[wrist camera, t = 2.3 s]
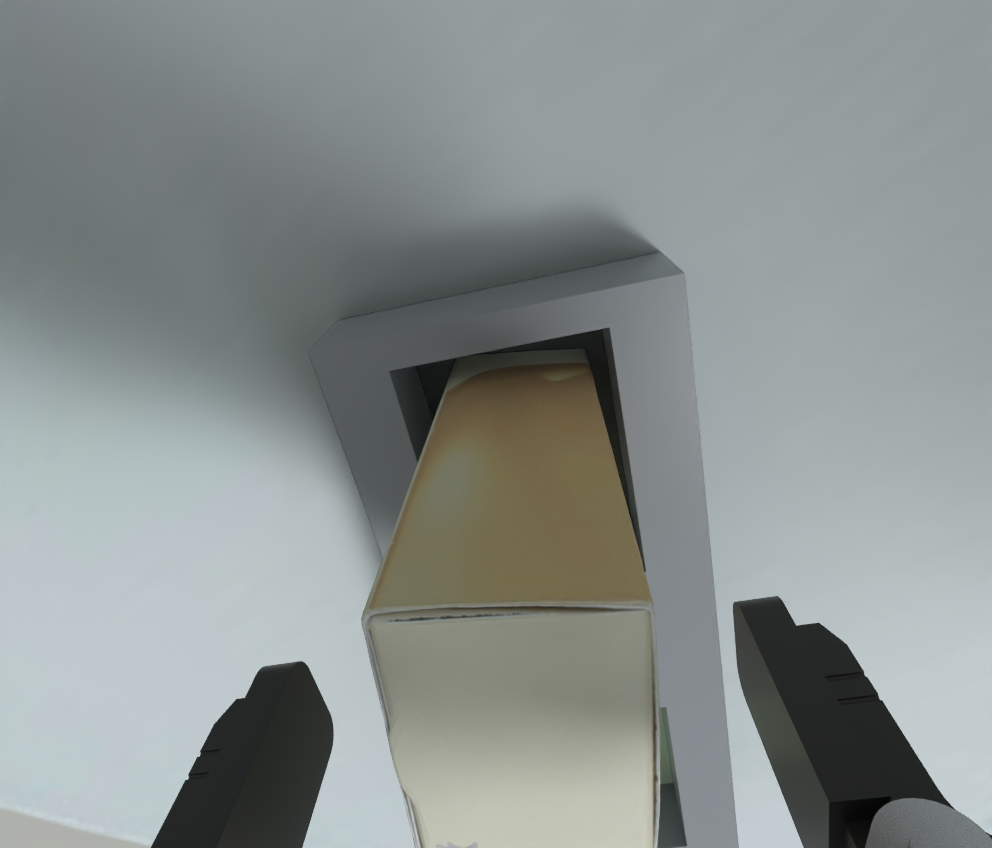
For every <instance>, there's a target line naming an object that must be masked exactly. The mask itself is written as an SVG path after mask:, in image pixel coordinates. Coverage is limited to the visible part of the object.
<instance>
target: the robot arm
mask: <svg viewBox="0 0 992 848" xmlns="http://www.w3.org/2000/svg"><path fill="white" fill-rule="evenodd" d="M733 616H734V629H735V643H736V656H737V667H738V673H739V678H740V682H741V686H742V690H743V693H744V696H745V699H746V702H747V705H748V707H749V710H750V712H751V715H752V718H753V720H754V723H755V725H756V728H757V730H758V733H759V735H760V738H761V740H762V743H763V745H764V748H765V750H766V753H767V756H768V758H769V761H770V763H771V766H772V768H773V771H774V773H775V776H776V778H777V781H778V783H779V786H780V789H781V791H782V794H783V796H784V799H785V801H786V804H787V806H788V809H789V811H790V814H791V816H792V819H793V822H794V824H795V827H796V829H797V832H798V834H799V837H800V839H801V842H802V844H803V847H804V848H992V835H990V834H988V833H986V832H985V831H984V830H983V829H982V828H981V827H980V826H978V825H977V824H976V823H974V822H973V821H972V820H971V819H969V818H968V817H966V816H965V815H963V814H961V813H960V812H958V811H956V810H955V809H954V808H953V807H952V806H951V805H950V804H949V802H948V801H947V800H946V799H945V798H944V797H943V795H942V794H941V792H940V791H939V790H938V788H937V787H936V785H935V784H934V782H933V780H932V779H931V777H930V776H929V774H928V772H927V771H926V769H925V768H924V766H923V765H922V763H921V761H920V760H919V758H918V757H917V755H916V753H915V752H914V750H913V749H912V747H911V746H910V744H909V742H908V741H907V739H906V738H905V736H904V734H903V733H902V731H901V730H900V728H899V727H898V725H897V723H896V722H895V720H894V719H893V717H892V715H891V714H890V712H889V711H888V709H887V708H886V706H885V704H884V703H883V701H882V700H880V699H879V697H878V693H877V692H876V690H875V689H874V687H873V685H872V684H871V682H870V681H869V679H868V678H867V677H865V675H864V671H863V670H862V668H861V666H860V665H859V663H858V662H857V660H856V659H855V657H854V655H853V654H852V652H851V651H850V649H849V647H848V646H847V644H845V643H844V642H843V641H842V640H840V639H839V638H838V637H836V636H835V635H834V634H833V633H831V632H830V631H829V630H827V629H826V628H825V627H824V626H822V625H821V624H820V623H814V624H806V625H799V626H796V625H795V623H794V621H793V619H792V617H791V616H790V614H789V612H788V610H787V608H786V607H785V605H784V603H783V601H782V600H781V599H780V598H779V597H778V596H774V597H767V598H760V599H753V600H746V601H738V602H734V604H733ZM332 746H333V722H332V718H331V715H330V712H329V710H328V708H327V706H326V704H325V702H324V700H323V697H322V695H321V693H320V691H319V689H318V687H317V685H316V683H315V680H314V678H313V676H312V674H311V672H310V670H309V668H308V666H307V665H306V664H305V663H304V662H302V661H300V662H293V663H285V664H278V665H271V666H265V667H262V668H261V669H260V670H259V671H258V673H257V675H256V676H255V678H254V681H253V683H252V685H251V687H250V689H249V691H248V693H247V695H246V697H245V698H242V699H236V700H235V702H234V703H233V704H232V705H231V706H230V707H229V708H228V709H227V710H226V712H225V713H224V714H223V715H222V716H221V717H220V718H219V719H218V721H217V722H216V723H215V724H214V726H213V728H212V730H211V732H210V734H209V735H208V737H207V739H206V741H205V743H204V745H203V747H202V749H201V751H200V752H201V755H200V757H197V759H196V761H195V763H194V765H193V767H192V769H191V771H190V772H189V779H188V780H185V782H184V784H183V786H182V788H181V790H180V792H179V794H178V796H177V798H176V800H175V802H174V804H173V806H172V808H171V809H170V811H169V813H168V815H167V817H166V819H165V821H164V823H163V825H162V827H161V829H160V831H159V833H158V835H157V837H156V839H155V841H154V843H153V845H152V847H151V848H302V846H303V843H304V840H305V836H306V833H307V830H308V827H309V823H310V820H311V817H312V813H313V810H314V807H315V803H316V800H317V797H318V794H319V790H320V787H321V784H322V780H323V777H324V774H325V771H326V767H327V764H328V761H329V757H330V754H331V750H332Z"/></svg>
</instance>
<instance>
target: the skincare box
mask: <svg viewBox="0 0 992 848" xmlns="http://www.w3.org/2000/svg"><path fill="white" fill-rule="evenodd" d="M361 620H362V627H363V631H364V635H365V639H366V644H367V648H368V653H369V657H370V662H371V666H372V671H373V675H374V679H375V683H376V687H377V691H378V696H379V700H380V704H381V708H382V712H383V716H384V720H385V726H386V732H387V736H388V741H389V746H390V750H391V755H392V760H393V764H394V768H395V771H396V774H397V777H398V780H399V783H400V786H401V789H402V793H403V798H404V803H405V807H406V811H407V816H408V819H409V823H410V827H411V831H412V835H413V840H414V844H415V847H416V848H657V842H658V830H659V815H660V708H659V681H658V667H657V664H658V657H657V643H656V625H655V609H654V604H653V600H652V597H651V593H650V589H649V586H648V582H647V579H646V575H645V571H644V568H643V564H642V560H641V556H640V552H639V548H638V545H637V541H636V537H635V534H634V530H633V526H632V522H631V518H630V515H629V511H628V507H627V504H626V500H625V497H624V493H623V489H622V485H621V482H620V478H619V474H618V470H617V467H616V463H615V459H614V455H613V451H612V448H611V444H610V441H609V437H608V433H607V429H606V426H605V422H604V418H603V414H602V410H601V407H600V403H599V400H598V396H597V392H596V388H595V383H594V379H593V375H592V372H591V368H590V364H589V360H588V356H587V352H586V351H585V350H584V349H581V348H578V349H558V350H539V351H522V352H507V353H495V354H482V355H471V356H463V357H459V358H457V359H456V360H455V363H454V365H453V368H452V371H451V373H450V376H449V379H448V382H447V385H446V387H445V390H444V393H443V396H442V399H441V401H440V404H439V407H438V409H437V412H436V415H435V417H434V420H433V423H432V426H431V429H430V432H429V434H428V437H427V440H426V442H425V445H424V448H423V450H422V453H421V456H420V459H419V461H418V464H417V467H416V469H415V472H414V475H413V478H412V480H411V483H410V486H409V489H408V491H407V494H406V497H405V500H404V503H403V505H402V508H401V511H400V514H399V517H398V519H397V522H396V525H395V527H394V530H393V533H392V535H391V538H390V541H389V544H388V546H387V549H386V552H385V554H384V557H383V560H382V562H381V565H380V568H379V571H378V573H377V576H376V579H375V581H374V584H373V587H372V590H371V592H370V595H369V598H368V600H367V603H366V606H365V609H364V611H363V615H362V619H361Z"/></svg>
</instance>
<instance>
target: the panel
mask: <svg viewBox="0 0 992 848" xmlns="http://www.w3.org/2000/svg"><path fill="white" fill-rule="evenodd" d="M599 329H603V336H604V342H605V349H606V355H607V362H608V368H609V375H610V381H611V388H612V394H613V400H614V407H615V413H616V420H617V426H618V433H619V439H620V446H621V452H622V459H623V465H624V472H625V478H626V485H627V491H628V498H629V504H630V510H631V517H632V518H631V522H632V526H633V530H634V534H635V537H636V541H637V545H638V548H639V552H640V556H641V560H642V564H643V568H644V571H645V575H646V579H647V582H648V586H649V589H650V593H651V597H652V600H653V604H654V609H655V625H656V643H657V657H658V664H657V667H658V681H659V708H660V815H659V830H658V842H657V848H739V845H738V835H737V824H736V814H735V803H734V792H733V782H732V771H731V761H730V750H729V739H728V729H727V718H726V708H725V697H724V686H723V676H722V665H721V655H720V644H719V633H718V623H717V612H716V602H715V591H714V580H713V570H712V559H711V548H710V538H709V527H708V517H707V506H706V495H705V485H704V474H703V464H702V453H701V442H700V432H699V421H698V411H697V400H696V389H695V379H694V368H693V358H692V347H691V336H690V326H689V315H688V305H687V294H686V283H685V273H684V272H683V271H682V270H681V269H679V268H678V267H677V266H676V265H675V264H674V263H673V262H672V261H671V260H669V259H668V258H667V257H666V256H665V255H664V254H663V253H662V252H658V253H654V254H649V255H644V256H639V257H635V258H630V259H625V260H620V261H616V262H611V263H606V264H602V265H597V266H592V267H587V268H583V269H578V270H573V271H568V272H564V273H559V274H554V275H550V276H545V277H540V278H535V279H531V280H526V281H521V282H516V283H512V284H507V285H502V286H498V287H493V288H488V289H483V290H479V291H474V292H469V293H464V294H460V295H455V296H450V297H446V298H441V299H436V300H431V301H427V302H422V303H417V304H412V305H408V306H403V307H398V308H394V309H389V310H384V311H379V312H375V313H370V314H365V315H360V316H356V317H351V318H346V319H342V320H338V321H337V322H336V323H335V324H334V325H333V326H332V327H331V328H330V329H329V330H328V331H327V332H326V333H325V334H324V335H323V336H322V337H321V338H320V339H319V340H318V341H317V342H316V343H315V344H314V345H313V346H312V347H311V348H310V349H309V350H308V353H309V356H310V359H311V362H312V364H313V367H314V370H315V373H316V375H317V378H318V381H319V384H320V386H321V389H322V392H323V395H324V397H325V400H326V403H327V406H328V408H329V411H330V414H331V417H332V419H333V422H334V425H335V428H336V430H337V433H338V436H339V439H340V441H341V444H342V447H343V450H344V452H345V455H346V458H347V461H348V463H349V466H350V469H351V472H352V474H353V477H354V480H355V483H356V485H357V488H358V491H359V494H360V496H361V499H362V502H363V505H364V507H365V510H366V513H367V516H368V518H369V521H370V524H371V527H372V529H373V532H374V535H375V538H376V540H377V543H378V546H379V549H380V551H381V554H382V557H384V554H385V552H386V549H387V546H388V544H389V541H390V538H391V535H392V533H393V530H394V527H395V525H396V522H397V519H398V517H399V514H400V511H401V508H402V505H403V503H404V500H405V497H406V494H407V491H408V489H409V486H410V483H411V480H412V478H413V475H414V472H415V469H416V467H417V464H418V461H419V459H420V456H421V453H422V450H423V448H424V445H425V442H426V440H427V437H428V434H429V432H430V429H431V426H432V423H433V422H432V418H431V415H430V411H429V408H428V405H427V401H426V398H425V394H424V391H423V387H422V384H421V380H420V377H419V374H418V370H417V367H416V366H417V365H422V364H427V363H432V362H437V361H442V360H447V359H452V358H457V357H463V356H468V355H473V354H478V353H483V352H488V351H493V350H498V349H503V348H508V347H513V346H518V345H523V344H528V343H533V342H538V341H543V340H549V339H554V338H559V337H564V336H569V335H574V334H579V333H584V332H589V331H594V330H599Z"/></svg>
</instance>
